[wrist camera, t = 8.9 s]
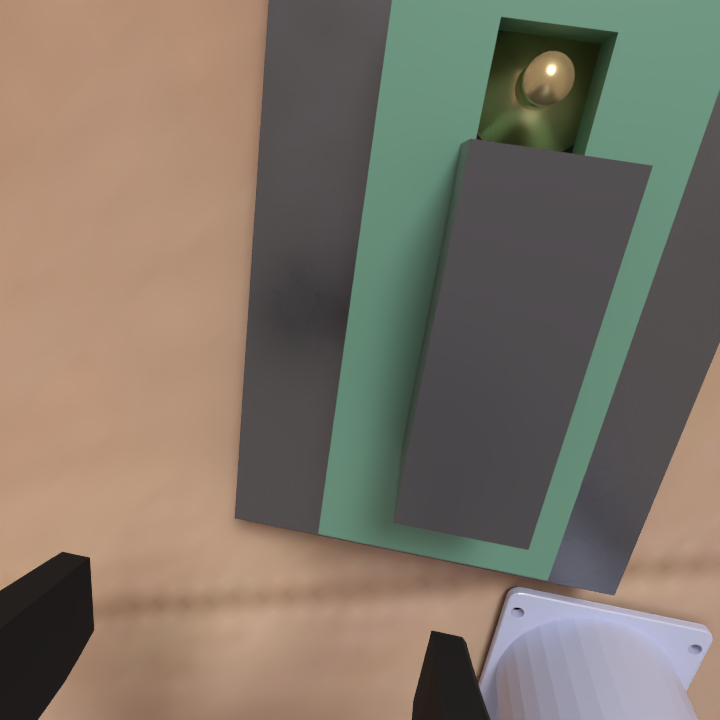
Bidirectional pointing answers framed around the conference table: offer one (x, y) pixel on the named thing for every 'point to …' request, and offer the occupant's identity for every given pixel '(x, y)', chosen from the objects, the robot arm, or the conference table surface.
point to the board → (407, 216)
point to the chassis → (338, 258)
